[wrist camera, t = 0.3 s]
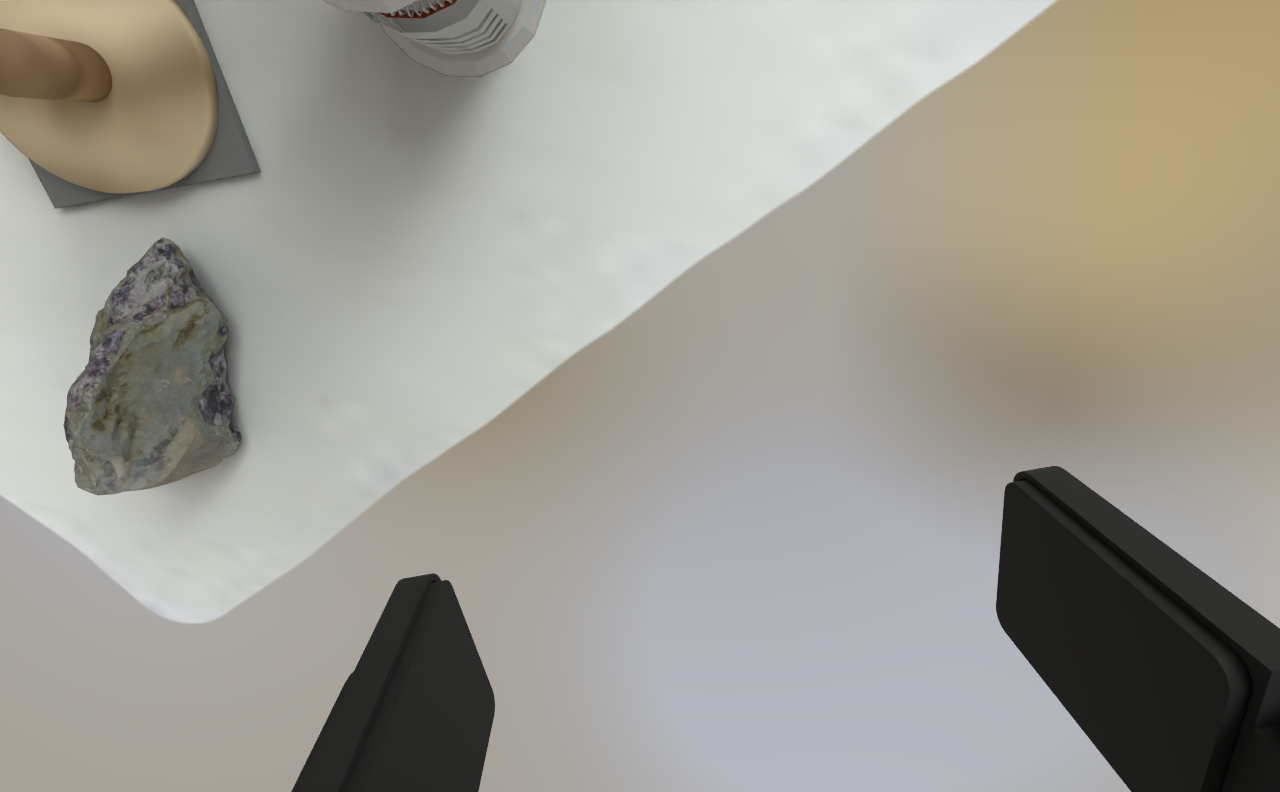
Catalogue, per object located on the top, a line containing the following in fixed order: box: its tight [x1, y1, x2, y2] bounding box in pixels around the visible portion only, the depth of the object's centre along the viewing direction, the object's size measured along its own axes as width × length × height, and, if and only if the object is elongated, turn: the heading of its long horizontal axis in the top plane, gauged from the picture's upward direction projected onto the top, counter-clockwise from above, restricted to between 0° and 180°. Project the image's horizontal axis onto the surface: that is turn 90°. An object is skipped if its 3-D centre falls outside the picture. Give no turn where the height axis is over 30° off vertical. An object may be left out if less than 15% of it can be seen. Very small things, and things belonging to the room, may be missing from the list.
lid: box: [0, 0, 219, 194], centre depth 30 cm, size 12×12×6 cm
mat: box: [29, 0, 261, 208], centre depth 33 cm, size 12×12×1 cm
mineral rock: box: [64, 238, 242, 495], centre depth 35 cm, size 13×11×10 cm
